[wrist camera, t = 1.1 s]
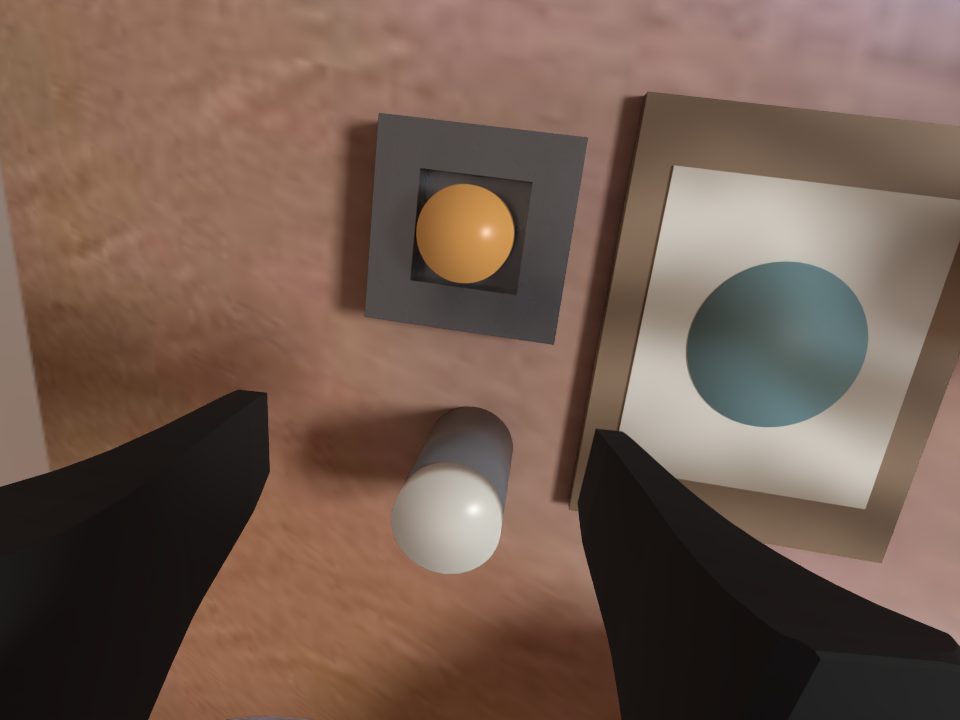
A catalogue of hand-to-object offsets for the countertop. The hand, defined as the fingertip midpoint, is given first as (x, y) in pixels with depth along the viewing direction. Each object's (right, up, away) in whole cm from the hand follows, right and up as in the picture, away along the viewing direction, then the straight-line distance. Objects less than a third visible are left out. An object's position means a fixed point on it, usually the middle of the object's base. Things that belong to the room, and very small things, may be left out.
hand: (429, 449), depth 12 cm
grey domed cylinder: (+1, -2, +15) cm, 15 cm away
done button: (+1, +7, +10) cm, 12 cm away
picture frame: (+13, +3, +12) cm, 18 cm away
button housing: (+1, +8, +12) cm, 14 cm away
